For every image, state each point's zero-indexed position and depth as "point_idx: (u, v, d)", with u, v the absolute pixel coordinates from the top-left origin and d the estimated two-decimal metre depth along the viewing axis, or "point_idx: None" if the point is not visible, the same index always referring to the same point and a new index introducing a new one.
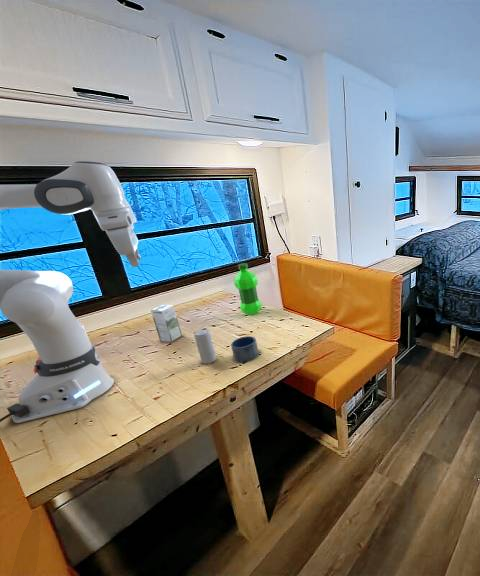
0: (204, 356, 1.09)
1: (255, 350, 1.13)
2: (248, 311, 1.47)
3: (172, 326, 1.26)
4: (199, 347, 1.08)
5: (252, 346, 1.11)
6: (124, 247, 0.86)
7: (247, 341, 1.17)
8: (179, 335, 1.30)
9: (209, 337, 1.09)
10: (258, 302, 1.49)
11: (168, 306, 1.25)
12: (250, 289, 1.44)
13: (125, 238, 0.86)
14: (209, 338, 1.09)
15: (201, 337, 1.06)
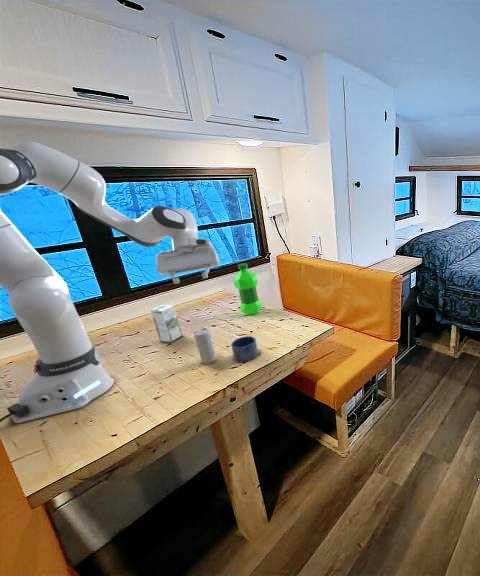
0: (204, 356, 1.09)
1: (255, 350, 1.13)
2: (248, 311, 1.47)
3: (172, 326, 1.26)
4: (199, 347, 1.08)
5: (252, 346, 1.11)
6: (218, 258, 1.17)
7: (247, 341, 1.17)
8: (179, 335, 1.30)
9: (209, 337, 1.09)
10: (258, 302, 1.49)
11: (168, 306, 1.25)
12: (250, 289, 1.44)
13: (217, 255, 1.18)
14: (209, 338, 1.09)
15: (201, 337, 1.06)
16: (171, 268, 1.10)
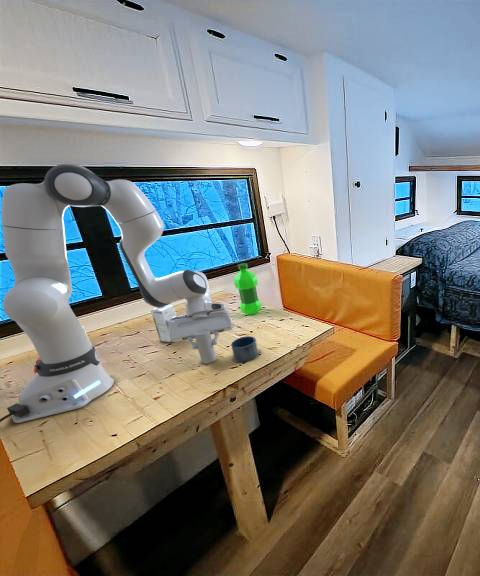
0: (204, 356, 1.09)
1: (255, 350, 1.13)
2: (248, 311, 1.47)
3: None
4: (199, 347, 1.08)
5: (252, 346, 1.11)
6: (232, 323, 1.16)
7: (247, 341, 1.17)
8: None
9: (209, 337, 1.09)
10: (258, 302, 1.49)
11: (168, 306, 1.25)
12: (250, 289, 1.44)
13: None
14: (209, 338, 1.09)
15: (201, 337, 1.06)
16: (185, 335, 1.08)
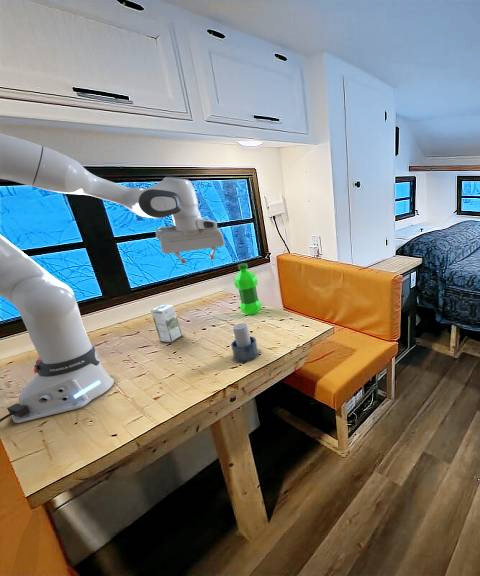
0: None
1: (255, 350, 1.13)
2: (248, 311, 1.47)
3: (172, 326, 1.26)
4: (238, 341, 1.10)
5: (252, 346, 1.11)
6: None
7: None
8: (179, 335, 1.30)
9: (247, 331, 1.11)
10: (258, 302, 1.49)
11: (168, 306, 1.25)
12: (250, 289, 1.44)
13: None
14: (247, 332, 1.11)
15: (240, 331, 1.09)
16: (178, 250, 1.09)
